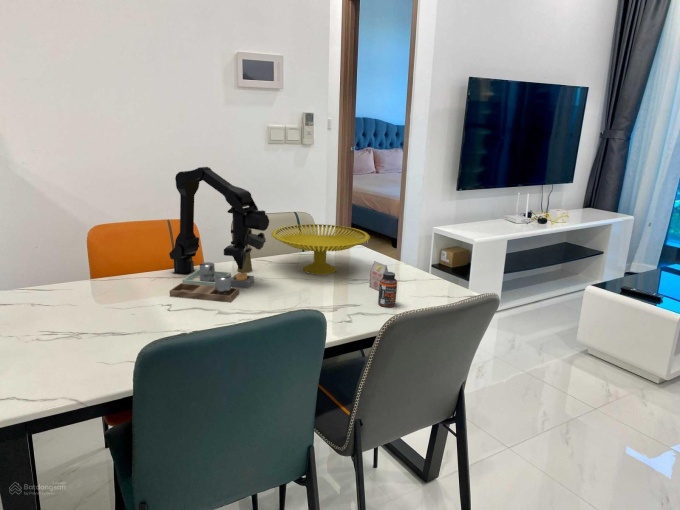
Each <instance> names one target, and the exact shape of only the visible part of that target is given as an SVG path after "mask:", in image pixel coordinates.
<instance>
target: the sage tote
mask: <svg viewBox="0 0 680 510" xmlns="http://www.w3.org/2000/svg"><path fill="white" fill-rule="evenodd" d="M218 275H229V276H231V277H232V272H227V271H218V270H215V277H216V276H218ZM197 277H200V269H196V270H195V271H193V272H192V273H190V274H189V275H187V276H186V277H185V278H183V279H182V280H181V282H182V283H184V284H195V285H206V286H215V282H204V281H200V280H194V279H196V278H197Z"/></svg>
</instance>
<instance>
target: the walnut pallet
mask: <svg viewBox="0 0 680 510" xmlns="http://www.w3.org/2000/svg"><path fill="white" fill-rule="evenodd" d="M239 295H240V288H236V287H231V295H230V296H227V295H216V294H215V286H206V285H195V284H184V283H179V284H177V285H176V286H174V287H173V288H171V289H170V290H169V297H173V298H180V299H181V298H182V299H192V300H202V301H211V302H221V303H222V302H225V303H232V302H233V301H234V300H235V299H236V298H237V297H238V296H239Z"/></svg>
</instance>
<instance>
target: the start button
mask: <svg viewBox="0 0 680 510" xmlns="http://www.w3.org/2000/svg"><path fill="white" fill-rule="evenodd" d="M247 275H248V273H240V272H238V273H236V280H244V281H246V280H247Z"/></svg>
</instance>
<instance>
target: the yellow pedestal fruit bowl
mask: <svg viewBox="0 0 680 510" xmlns="http://www.w3.org/2000/svg"><path fill="white" fill-rule="evenodd" d="M322 228H323V229H322ZM314 229H315V230H314ZM333 230H334V231H333ZM318 231H319V232H318ZM270 235H271V237H272V238H274V239H275V240H277V241H278V242H280V243H283V244H285V245H287V246H289V247H292V248H294V249H298V250H302V251H309V252H310V251H311V252H313V262H312V263H310V264H309V263H308V264H307V265H304V266H303V267H302V270H304V271H303V272H305V273H307V272H308V273H307V274H311V273H313V274H312V275H329V274H330V273H331V274H334V273H336V272H337V268H336V267H335V266H333V265H331V264H329V263H328V262H327V252H337V251H338V252H340V251H345V250H349V249H351V248H354V247H356V246H359V245H361V244H363V243H365V242H368V241H369V240H370V239H371V235H369V234H368V232H366V231H364V230H361V229H357V228H355V227H354V228H353V227H349V226H343V225H336V224H324V223H323V224H321V223H320V224H319V223H317V224H315V223H313V224H311V223H310V224H306V223H305V224H294V225H285V226H282V227H279V228H278V227H277V228H276V229H273V230H272V231H271V233H270ZM335 271H336V272H335Z"/></svg>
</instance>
